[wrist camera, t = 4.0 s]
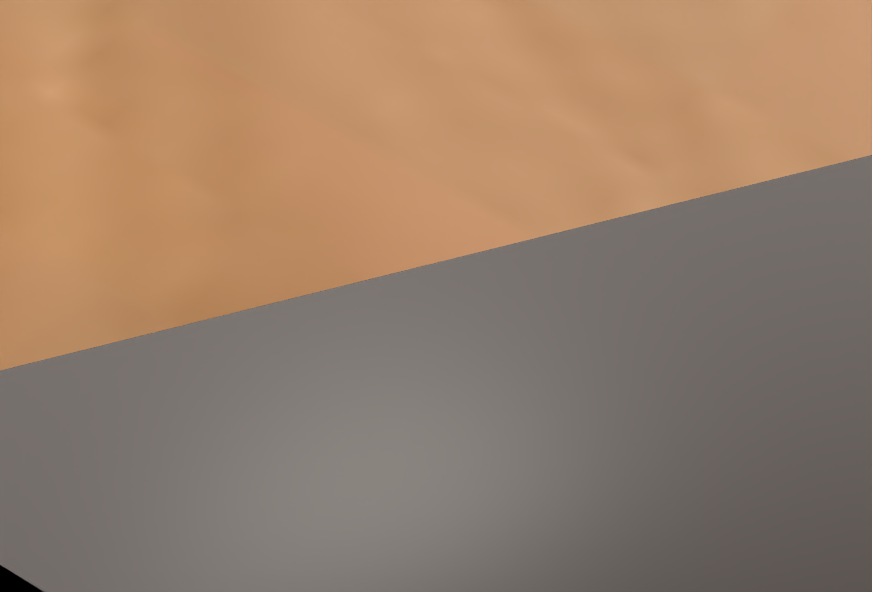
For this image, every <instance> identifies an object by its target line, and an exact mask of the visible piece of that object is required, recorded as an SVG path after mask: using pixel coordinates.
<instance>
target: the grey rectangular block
mask: <svg viewBox="0 0 872 592" xmlns="http://www.w3.org/2000/svg"><path fill="white" fill-rule="evenodd" d="M0 592H872V155H870V156H866V157H862V158H858V159H854V160H850V161H846V162H842V163H838V164H834V165H830V166H826V167H822V168H818V169H814V170H810V171H805V172H801V173H797V174H793V175H789V176H785V177H781V178H777V179H773V180H769V181H765V182H761V183H757V184H753V185H749V186H745V187H741V188H737V189H733V190H729V191H725V192H721V193H717V194H713V195H708V196H704V197H700V198H696V199H692V200H688V201H684V202H680V203H676V204H672V205H668V206H664V207H660V208H656V209H652V210H648V211H644V212H640V213H636V214H632V215H628V216H624V217H620V218H615V219H611V220H607V221H603V222H599V223H595V224H591V225H587V226H583V227H579V228H575V229H571V230H567V231H563V232H559V233H555V234H551V235H547V236H543V237H539V238H535V239H531V240H527V241H523V242H518V243H514V244H510V245H506V246H502V247H498V248H494V249H490V250H486V251H482V252H478V253H474V254H470V255H466V256H462V257H458V258H454V259H450V260H446V261H442V262H438V263H434V264H430V265H425V266H421V267H417V268H413V269H409V270H405V271H401V272H397V273H393V274H389V275H385V276H381V277H377V278H373V279H369V280H365V281H361V282H357V283H353V284H349V285H345V286H341V287H337V288H333V289H328V290H324V291H320V292H316V293H312V294H308V295H304V296H300V297H296V298H292V299H288V300H284V301H280V302H276V303H272V304H268V305H264V306H260V307H256V308H252V309H248V310H244V311H240V312H235V313H231V314H227V315H223V316H219V317H215V318H211V319H207V320H203V321H199V322H195V323H191V324H187V325H183V326H179V327H175V328H171V329H167V330H163V331H159V332H155V333H151V334H147V335H143V336H138V337H134V338H130V339H126V340H122V341H118V342H114V343H110V344H106V345H102V346H98V347H94V348H90V349H86V350H82V351H78V352H74V353H70V354H66V355H62V356H58V357H54V358H50V359H45V360H41V361H37V362H33V363H29V364H25V365H21V366H17V367H13V368H9V369H5V370H1V371H0Z"/></svg>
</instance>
